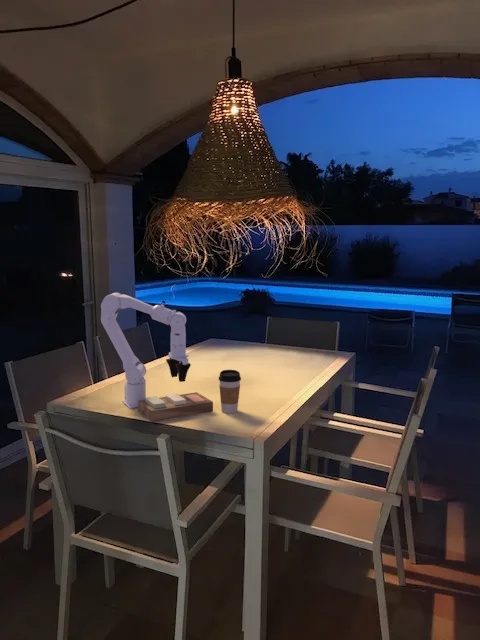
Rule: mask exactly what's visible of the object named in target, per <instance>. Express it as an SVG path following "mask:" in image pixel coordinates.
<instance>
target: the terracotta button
mask: <svg viewBox="0 0 480 640" xmlns="http://www.w3.org/2000/svg"><path fill="white" fill-rule="evenodd" d="M185 397H187V398H188V399H190V400H191V401H193V402H201V401H206V400H204V399H203V398H201V397H199V396H198V395H196V394H194V395H187V396H185Z"/></svg>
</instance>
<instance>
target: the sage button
mask: <svg viewBox="0 0 480 640" xmlns="http://www.w3.org/2000/svg"><path fill="white" fill-rule="evenodd" d="M145 403H147V404H148V405H149V406H151V407H152V408H153V409H156V408H162V407H166V403H165V402H164V401H163V400H161V399H160V397H158V396H148V397H147V396H146V398H145Z"/></svg>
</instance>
